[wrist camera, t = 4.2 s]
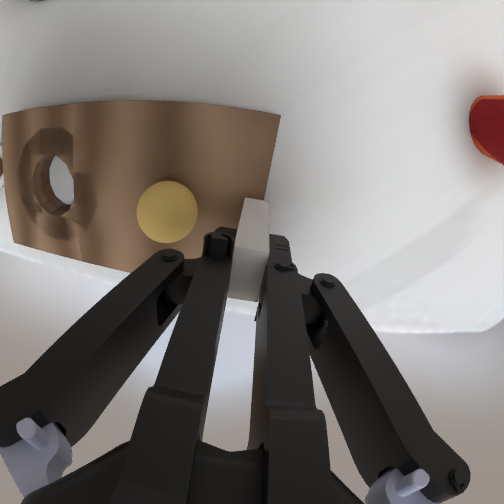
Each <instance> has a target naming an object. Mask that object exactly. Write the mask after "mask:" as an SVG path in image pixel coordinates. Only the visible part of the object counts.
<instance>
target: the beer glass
mask: <svg viewBox="0 0 504 504" xmlns="http://www.w3.org/2000/svg"><path fill="white" fill-rule="evenodd" d="M3 186H4V175H3V161H2V145H1V144H0V189H1V188H2V187H3Z"/></svg>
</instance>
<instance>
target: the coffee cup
mask: <svg viewBox="0 0 504 504" xmlns="http://www.w3.org/2000/svg"><path fill="white" fill-rule="evenodd" d="M469 124H470V131H471V135H472V138H473V141H474V143H475V145H476V147H477V148H478V149H479V150H480V151H481V152H482V153H483V154H485V155H486V156H488V157H490V158H492V159H494V160H496V161H497V162H499V163H501V164H503V165H504V96H481V97H479V98H477V99H476V100H475V101H474V103H473V105H472V107H471V110H470V117H469Z"/></svg>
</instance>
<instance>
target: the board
mask: <svg viewBox="0 0 504 504" xmlns="http://www.w3.org/2000/svg"><path fill="white" fill-rule="evenodd" d="M280 117H281V115H277V114H272V113H266V112H261V111H255V110H249V109H242V108H235V107H228V106H220V105H211V104H201V103H190V102H175V101H150V100H122V101H97V102H83V103H72V104H63V105H55V106H48V107H41V108H35V109H30V110H24V111H19V112H14V113H10V114H5V115H2V161H3V175H4V186H5V194H6V202H7V208H8V215H9V220H10V225H11V231H12V235H13V240H14V243H17V244H21V245H24V246H27V247H31V248H34V249H38V250H42V251H45V252H49V253H53V254H56V255H60V256H64V257H68V258H71V259H75V260H79V261H83V262H87V263H91V264H95V265H99V266H104V267H108V268H112V269H116V270H121V271H125V272H129V273H132V272H133V271H134V270H135V269H137V268H138V267H139V266H140V265H141V264H143V263H144V262H145V261H146V260H147V259H149V258H150V257H151V256H152V255H153V254H155V253H156V252H158V251H159V250H163V249H175V250H178V251H180V252H182V253H183V254H184V259H195V258H199V257H201V256H202V253H203V243H204V236H205V235H206V234H207V233H210V232H214V231H215V229H217V228H219V227H220V226H222V227H228V228H234V229H238V226H239V221H240V217H241V213H242V208H243V204H244V200H245V197H246V198H252V199H258V200H263V201H264V196H265V191H266V186H267V181H268V176H269V171H270V166H271V161H272V156H273V152H274V147H275V142H276V137H277V132H278V127H279V122H280ZM55 155H56V156H58V157H59V158H60V159H61V160H62V161H63V162H65V163H66V164H67V166H68V168H69V171H70V173H71V175H72V178H73V180H74V199H73V202H72V204H71V205H65V204H63V203H62V202H61V201H60V200H59V199H58V198H57V197H55V195H54V193H53V190H52V188H51V186H50V184H49V167H50V164H51V161H52V159H53V157H54V156H55ZM161 181H174V182H178V183H180V184H182V185H184V186H185V187H187V188H188V189H189V190H190V191H191V192H192V194H193V195H194V197H195V200H196V203H197V207H198V215H197V220H196V223H195V225H194V227H193V229H192V230H191V232H190V233H189V234H188V235H187V236H185V237H184V238H183V239H181V240H179V241H176V242H173V243H160V242H157V241H154V240H152V239H151V238H149V237H148V236H147V235H146V234H145V233H144V232H143V231H142V229H141V228H140V226H139V224H138V220H137V205H138V202H139V199H140V197H141V196H142V194H143V193H144V192H145V191H146V189H148V188H149V187H150V186H152V185H153V184H155V183H158V182H161Z"/></svg>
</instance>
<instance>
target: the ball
mask: <svg viewBox="0 0 504 504" xmlns="http://www.w3.org/2000/svg"><path fill="white" fill-rule="evenodd" d="M197 215H198V207H197V203H196V200H195V197H194V195H193V194H192V192H191V191H190V190H189V189H188V188H187V187H185V186H184V185H182V184H180V183H178V182H174V181H161V182H158V183H155V184H153V185H152V186H150V187H149V188H148V189H146V191H145V192H144V193H143V194H142V196H141V197H140V199H139V202H138V205H137V220H138V224H139V226H140V228H141V229H142V231H143V232H144V233H145V234H146V235H147V236H148V237H149V238H151V239H152V240H154V241H157V242H160V243H173V242H176V241H179V240H181V239H183V238H184V237H185V236H187V235H188V234H189V233H190V232H191V230H192V229H193V227H194V225H195V223H196V220H197Z"/></svg>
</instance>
